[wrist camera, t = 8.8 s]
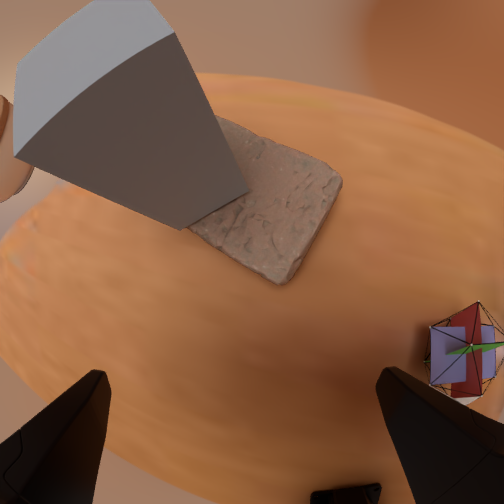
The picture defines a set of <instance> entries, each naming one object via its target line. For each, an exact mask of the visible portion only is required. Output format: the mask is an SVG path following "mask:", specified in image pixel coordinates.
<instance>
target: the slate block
mask: <svg viewBox="0 0 504 504" xmlns="http://www.w3.org/2000/svg"><path fill="white" fill-rule="evenodd" d="M13 152H14V158H17V159H19V160H21V161H23V162H25V163H28V164H30V165H32V166H34V167H37V168H39V169H41V170H43V171H46V172H48V173H50V174H52V175H55V176H57V177H59V178H61V179H63V180H66V181H68V182H70V183H72V184H75V185H77V186H79V187H81V188H84V189H86V190H88V191H90V192H93V193H95V194H97V195H99V196H102V197H104V198H106V199H109V200H111V201H113V202H115V203H118V204H120V205H122V206H124V207H127V208H129V209H131V210H134V211H136V212H138V213H140V214H143V215H145V216H147V217H150V218H152V219H154V220H157V221H159V222H161V223H163V224H166V225H168V226H170V227H173V228H175V229H177V230H180V231H181V230H182V229H184V228H186V227H187V226H189V225H191V224H192V223H194V222H196V221H197V220H199V219H201V218H202V217H204V216H206V215H208V214H209V213H211V212H213V211H214V210H216V209H218V208H220V207H221V206H223V205H225V204H227V203H228V202H230V201H232V200H234V199H236V198H237V197H239V196H241V195H243V194H245V193H246V192H248V191H249V189H248V187H247V185H246V182H245V180H244V178H243V176H242V174H241V171H240V169H239V167H238V165H237V163H236V160H235V158H234V156H233V154H232V152H231V149H230V147H229V145H228V143H227V141H226V138H225V136H224V134H223V132H222V130H221V128H220V126H219V123H218V121H217V119H216V117H215V115H214V113H213V111H212V108H211V106H210V104H209V102H208V100H207V98H206V96H205V94H204V91H203V89H202V87H201V85H200V83H199V81H198V79H197V77H196V75H195V73H194V71H193V69H192V66H191V64H190V62H189V60H188V58H187V56H186V54H185V52H184V50H183V48H182V46H181V44H180V42H179V40H178V38H177V36H176V34H175V32H174V31H173V29H172V28H171V27H170V26H169V24H168V23H167V22H166V20H165V19H164V18H163V17H162V15H161V14H160V13H159V11H158V10H157V9H156V8H155V7H154V5H153V4H152V3H151V2H150V0H94V1H92V2H91V3H89V4H88V5H86V6H85V7H83V8H82V9H81V10H79V11H78V12H76V13H75V14H74V15H72V16H71V17H70V18H68V19H67V20H66V21H65V22H63V23H62V24H61V25H60V26H58V27H57V28H56V29H55V30H53V31H52V32H51V33H50V34H49V35H48V36H46V37H45V38H44V39H43V40H42V41H41V42H39V43H38V44H37V45H36V46H35V47H34V48H33V49H32V50H31V51H30V52H29V53H28V54H27V55H26V56H25V57H24V58H23V59H21V61H19V63H18V64H17V71H16V80H15V91H14V107H13Z"/></svg>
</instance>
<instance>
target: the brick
mask: <svg viewBox="0 0 504 504" xmlns="http://www.w3.org/2000/svg"><path fill="white" fill-rule="evenodd" d="M215 117H216V119H217V121H218V123H219V126H220V128H221V130H222V132H223V134H224V136H225V138H226V141H227V143H228V145H229V147H230V149H231V152H232V154H233V156H234V158H235V160H236V163H237V165H238V167H239V169H240V171H241V174H242V176H243V178H244V180H245V182H246V185H247V187H248V189H249V191H248V192H246V193H245V194H243V195H241V196H239V197H237V198H236V199H234V200H232V201H230V202H228V203H227V204H225V205H223V206H221V207H220V208H218V209H216V210H214V211H213V212H211V213H209V214H208V215H206V216H204V217H202V218H201V219H199V220H197V221H196V222H194V223H192V224H191V225H189V226H187V227H186V228H188V229H190V230H191V231H192V232H193V233H195V234H197V235H198V236H199V237H201V238H202V239H203V240H204V241H206V242H207V243H209V244H210V245H211V246H213V247H214V248H216V249H218V250H220V251H221V252H223V253H225V254H226V255H227V256H229V257H231V258H232V259H234V260H235V261H237V262H238V263H240V264H242V265H244V266H245V267H247V268H249V269H250V270H252V271H254V272H256V273H257V274H261V275H262V277H263V278H265V279H267V280H269V281H270V282H272V283H274V284H276V285H278V284H280V285H284V284H286V283H287V282H288V281H290V279H291V278H292V277H293V276H294V274H295V271H296V270H297V269H298V267H299V266H300V264H301V263H302V261H303V258H304V257H305V255H306V254H307V252H308V250H309V248H310V246H311V244H312V242H313V241H314V239H315V237H316V235H317V234H318V232H319V230H320V228H321V226H322V225H323V223H324V221H325V219H326V217H327V215H328V213H329V211H330V209H331V207H332V205H333V204H334V202H335V200H336V198H337V196H338V194H339V191H340V190H341V188H342V183H343V180H342V178H341V176H340V175H339V174H338V173H337V172H336V171H335V170H333V169H332V168H331V167H330V166H329V165H328V164H327V163H325V162H323V161H321V160H319V159H316V158H314V157H312V156H309V155H307V154H305V153H303V152H300V151H298V150H295V149H292V148H290V147H287V146H284V145H281V144H279V143H276V142H274V141H272V140H270V139H267V138H264V137H259V136H257V135H256V134H254V133H252V132H251V131H249V130H248V129H246V128H244V127H242V126H240V125H238V124H235V123H233V122H231V121H229V120H226V119H224V118H221V117H219V116H216V115H215Z"/></svg>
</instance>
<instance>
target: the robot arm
mask: <svg viewBox="0 0 504 504" xmlns="http://www.w3.org/2000/svg"><path fill="white" fill-rule="evenodd" d="M376 393H377V396H378V400H379V403H380V406H381V410H382V413H383V417H384V420H385V423H386V426H387V429H388V431H389V434H390V436H391V439H392V441H393V444H394V446H395V449H396V451H397V454H398V456H399V459H400V462H401V464H402V467H403V469H404V472H405V475H406V477H407V480H408V483H409V486H410V488H411V491H412V494H413V497H414V500H415V503H416V504H504V424H502V423H500V422H497V421H495V420H493V419H490V418H488V417H486V416H484V415H482V414H480V413H478V412H476V411H474V410H472V409H469V407H467V406H465V405H463V404H461V403H459V402H458V401H456V400H454V399H452V398H450V397H449V396H447V395H445V394H443V393H441V392H439V391H438V390H436V389H434V388H432V387H430V386H429V385H427V384H425V383H423V382H422V381H420V380H418V379H416V378H414V377H413V376H411V375H409V374H407V373H406V372H404V371H402V370H400V369H399V368H397V367H395V366H392V367H386V368H384V369H383V370H382V372H381V375H380V377H379V379H378V381H377V383H376ZM110 401H111V387H110V384H109V381H108V378H107V374H106V372H105V371H102V370H95V369H93V370H91V371H90V372H89V373H87V374H86V375H85V376H84V377H82V378H81V379H80V380H79V381H77V382H76V383H75V384H74V385H72V386H71V387H70V388H69V389H67V390H66V391H65V392H64V393H63V394H61V395H60V396H59V397H58V398H56V399H55V400H54V401H53V402H51V403H50V404H49V405H48V406H47V407H45V408H44V409H43V410H42V411H41V412H39V413H38V414H37V415H36V416H34V417H33V418H32V419H31V420H29V421H28V422H27V423H26V424H25V425H23V426H22V427H21V429H19V430H17V431H16V432H15V433H14V434H12V435H11V436H10V437H8V438H7V439H6V440H5V441H3V442H2V443H1V444H0V504H92V502H93V496H94V490H95V485H96V480H97V474H98V469H99V465H100V460H101V455H102V451H103V447H104V443H105V438H106V432H107V424H108V416H109V408H110ZM375 488H376V489H375ZM381 489H382V487H381V485H380V484H379V483H376V484H371V485H366V486H360V487H354V488H347V489H339V490H330V491H320V492H314V493H312V494H311V496H310V504H378V501H379V497H380V493H381ZM315 496H318V497H315Z"/></svg>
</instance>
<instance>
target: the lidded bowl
mask: <svg viewBox="0 0 504 504" xmlns="http://www.w3.org/2000/svg"><path fill="white" fill-rule="evenodd" d="M13 107H14V105H12V104H11V103H10V102H8V100H7V99H6V98H5V97H3V96H2V95H0V203H1V202H4V201H5V200H7V199H9V198H10V197H11V196H12V195H15V194H17V193H19V192H20V191H21V190H22V189H23V188H24V186H25V185H26V184H27V182H28V180H29V179H30V177H31V174H32V172H33V170H34V166H32V165H30V164H28V163H25V162H23V161H21V160H19V159H17V158H14V152H13Z"/></svg>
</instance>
